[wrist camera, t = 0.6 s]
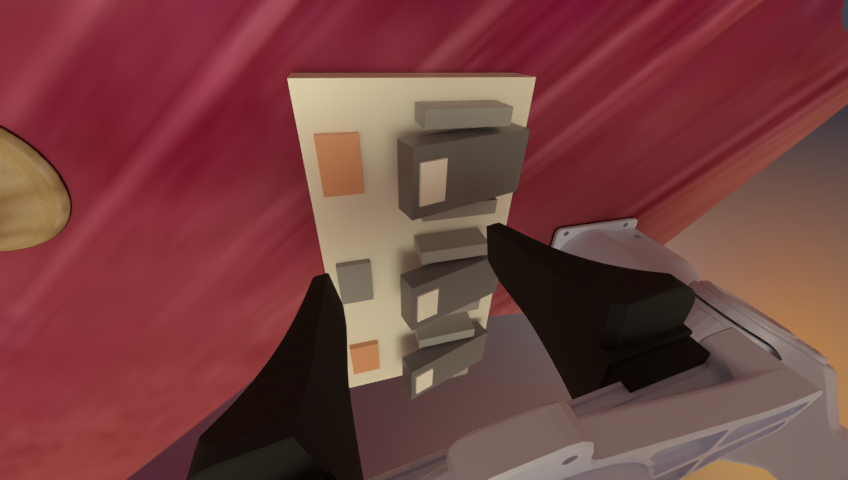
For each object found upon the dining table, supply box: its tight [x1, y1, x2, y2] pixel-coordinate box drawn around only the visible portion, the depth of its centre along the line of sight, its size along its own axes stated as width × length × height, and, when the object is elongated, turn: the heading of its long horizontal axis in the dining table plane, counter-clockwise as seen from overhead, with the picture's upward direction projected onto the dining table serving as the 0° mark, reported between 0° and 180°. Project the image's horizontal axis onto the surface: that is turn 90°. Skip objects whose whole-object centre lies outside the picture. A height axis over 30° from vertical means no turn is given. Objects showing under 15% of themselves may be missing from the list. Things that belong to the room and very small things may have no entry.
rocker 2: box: [402, 320, 488, 400], centre depth 28 cm, size 8×4×2 cm, turn 89°
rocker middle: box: [400, 254, 499, 331], centre depth 23 cm, size 8×4×2 cm, turn 89°
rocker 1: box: [397, 123, 530, 221], centre depth 18 cm, size 8×4×2 cm, turn 89°
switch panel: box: [287, 73, 536, 388], centre depth 24 cm, size 14×27×5 cm, turn 179°
